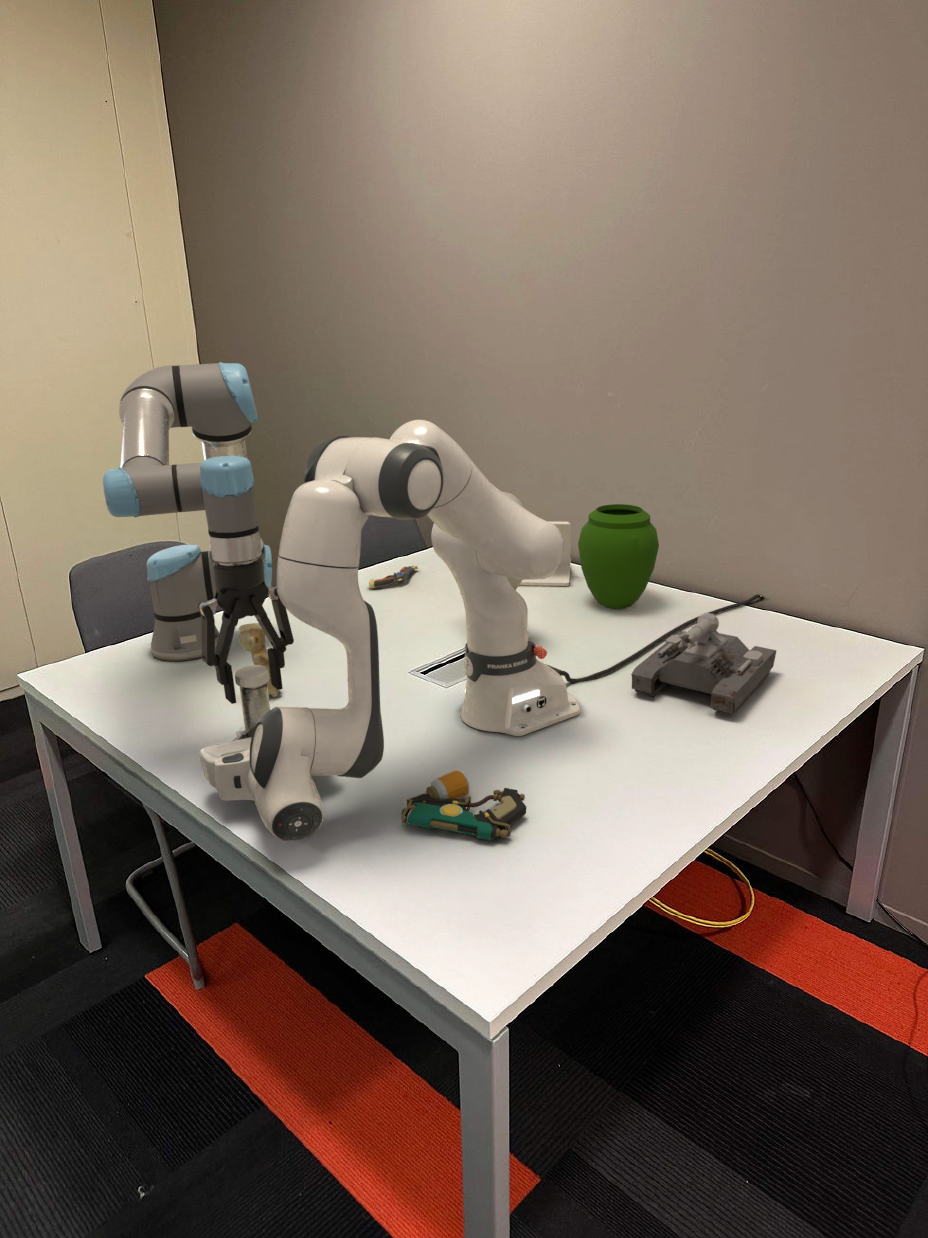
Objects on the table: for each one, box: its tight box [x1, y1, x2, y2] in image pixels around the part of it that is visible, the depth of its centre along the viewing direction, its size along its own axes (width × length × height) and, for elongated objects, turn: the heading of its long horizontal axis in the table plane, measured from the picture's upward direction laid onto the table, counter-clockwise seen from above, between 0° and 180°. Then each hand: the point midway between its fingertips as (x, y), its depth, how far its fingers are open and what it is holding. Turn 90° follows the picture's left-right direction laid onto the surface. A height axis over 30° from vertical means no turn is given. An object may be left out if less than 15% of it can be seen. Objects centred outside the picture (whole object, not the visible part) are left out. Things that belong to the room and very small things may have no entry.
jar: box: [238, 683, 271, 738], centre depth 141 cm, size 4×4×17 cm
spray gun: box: [401, 769, 527, 841], centre depth 128 cm, size 4×17×15 cm
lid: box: [234, 664, 270, 688], centre depth 138 cm, size 5×5×2 cm
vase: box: [577, 503, 660, 610], centre depth 210 cm, size 20×20×24 cm
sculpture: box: [238, 622, 280, 698], centre depth 168 cm, size 6×7×15 cm
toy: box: [630, 612, 777, 715], centre depth 167 cm, size 25×20×15 cm
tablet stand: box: [519, 521, 572, 587], centre depth 236 cm, size 18×25×17 cm
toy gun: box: [368, 565, 419, 589], centre depth 238 cm, size 3×19×10 cm
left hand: (254, 693), depth 139 cm, fingers open, 7 cm apart
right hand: (258, 731), depth 143 cm, fingers closed on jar, 4 cm apart
